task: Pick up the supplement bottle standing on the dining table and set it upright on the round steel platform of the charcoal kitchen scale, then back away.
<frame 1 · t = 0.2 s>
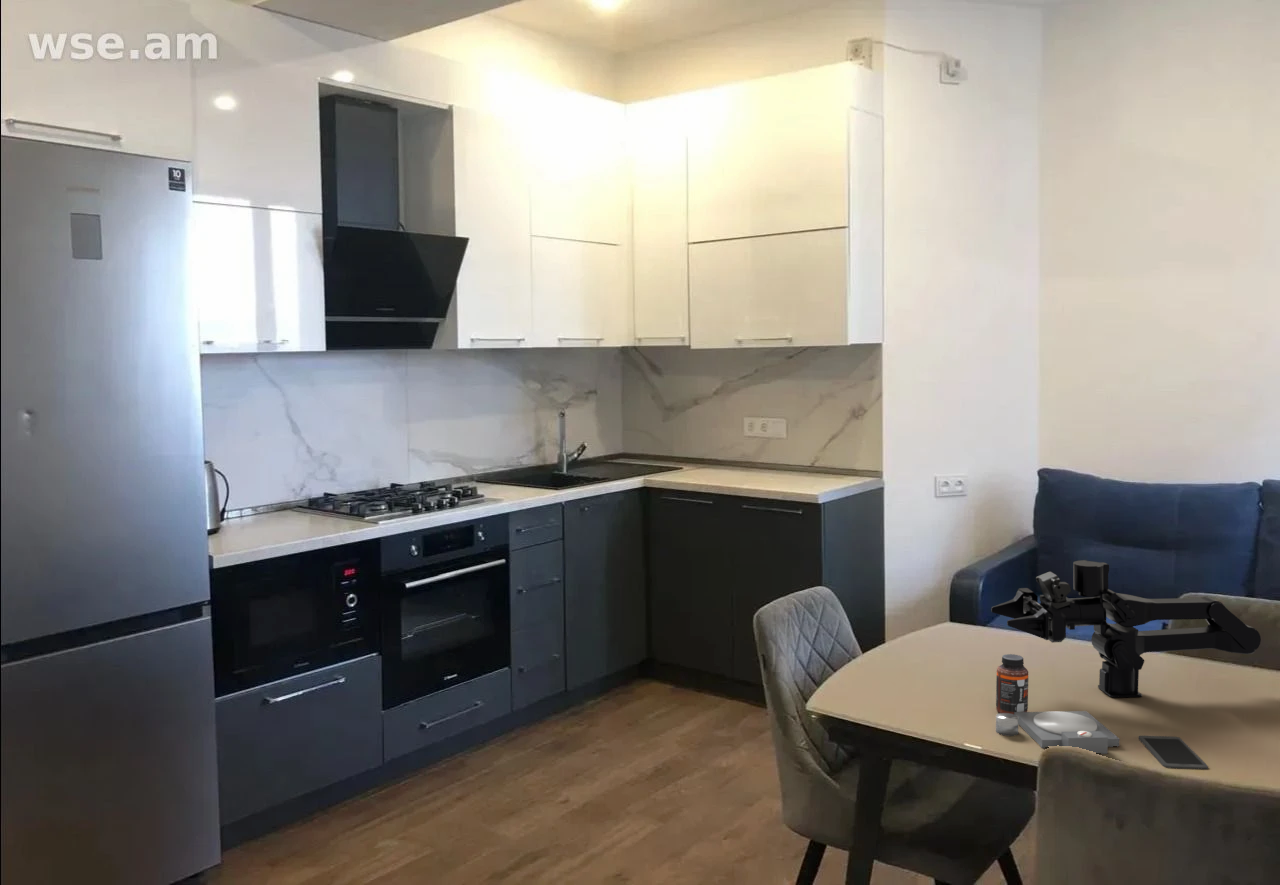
hand: (999, 616, 212), 17 cm above the table, tool horizontal, fingers open, 9 cm apart
shiny metal cylinder: (1006, 732, 194), on the table
cell phone: (1171, 755, 183), on the table
scale: (1064, 732, 193), on the table
supplement bottle: (1011, 713, 204), on the table
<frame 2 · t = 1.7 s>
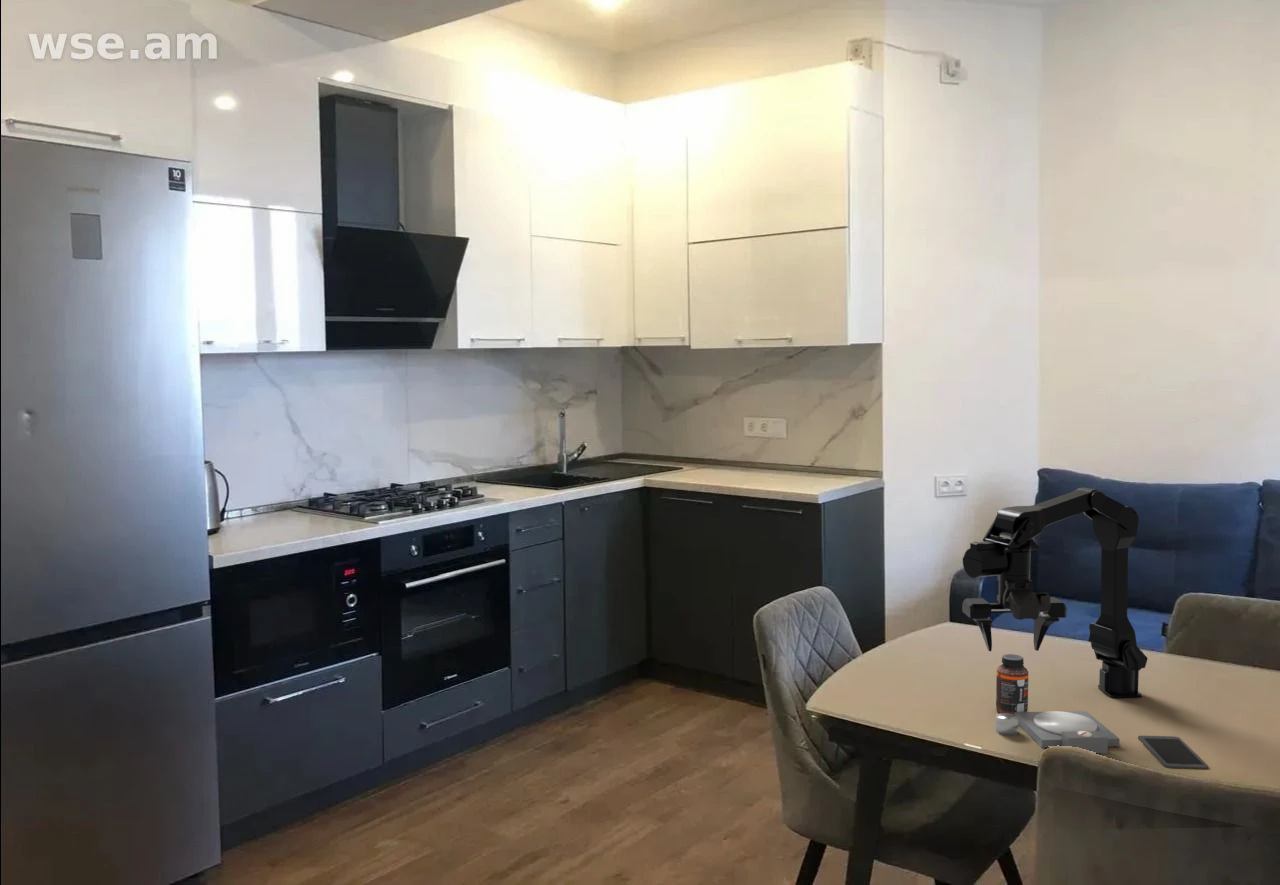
hand: (1012, 650, 203), 13 cm above the table, tool pointing down, fingers open, 9 cm apart
nothing on the table moved.
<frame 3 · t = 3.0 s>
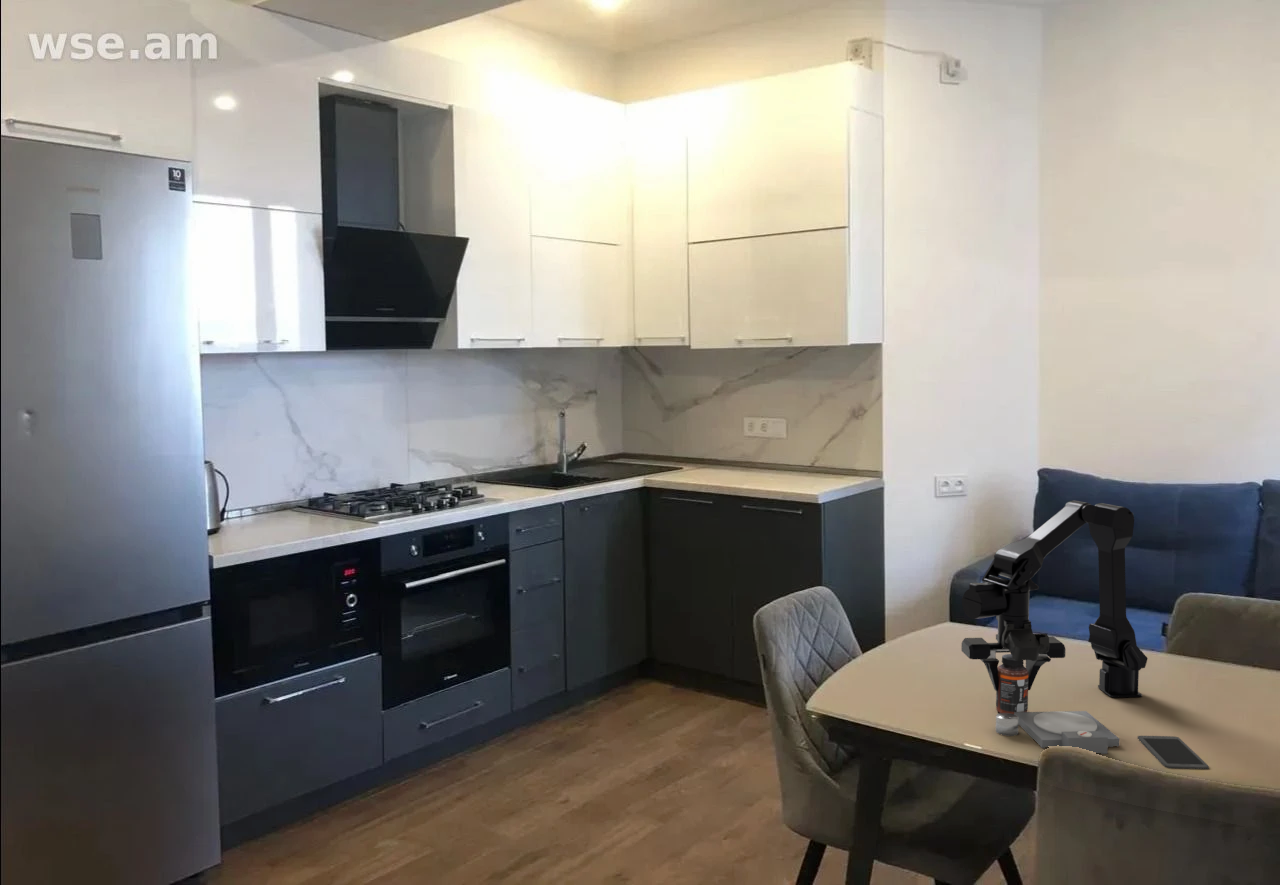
hand: (1012, 689, 203), 5 cm above the table, tool pointing down, fingers closed on supplement bottle, 6 cm apart
supplement bottle: (1011, 713, 204), on the table, touching gripper
everything else where it was.
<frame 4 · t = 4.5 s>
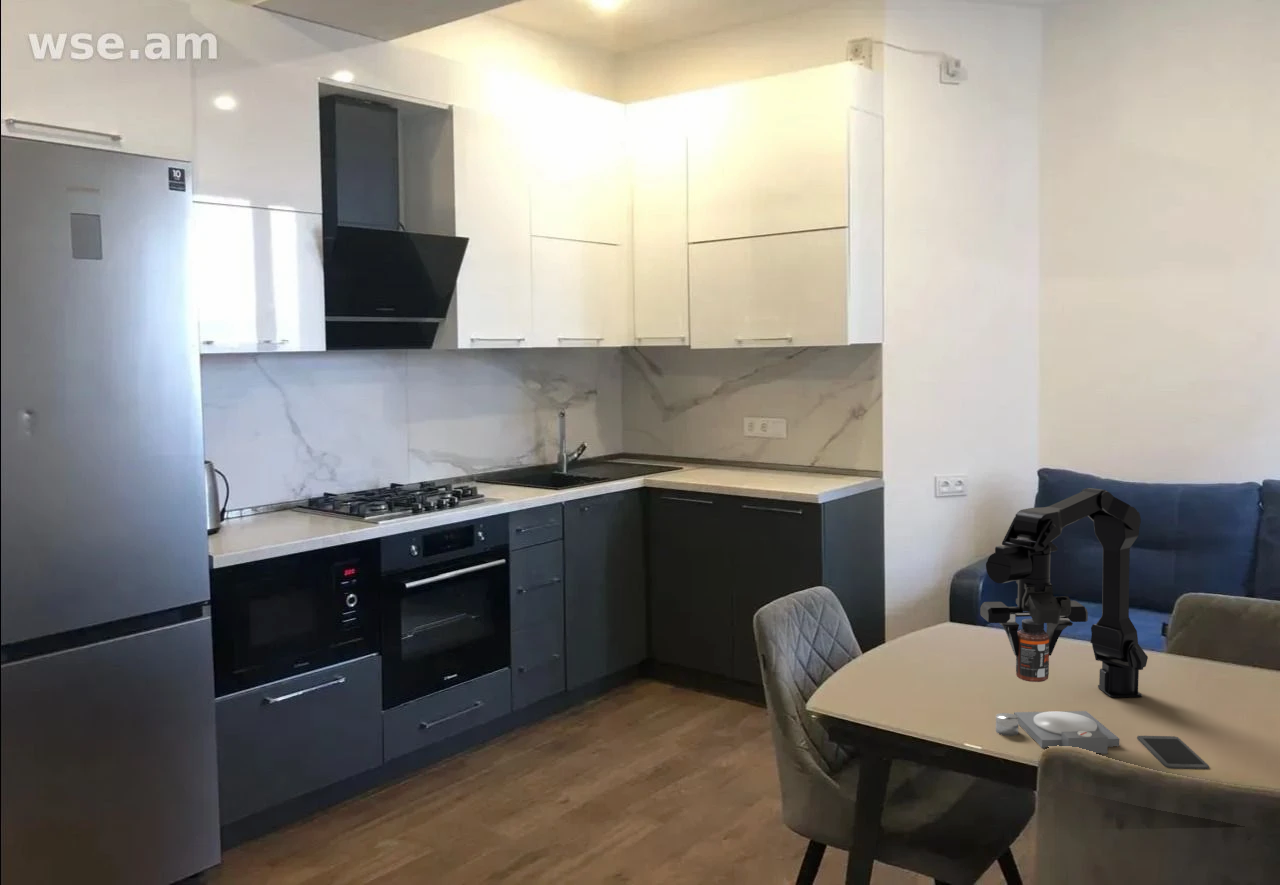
hand: (1032, 655, 198), 13 cm above the table, tool pointing down, fingers closed on supplement bottle, 6 cm apart
supplement bottle: (1032, 679, 199), point 8 cm above the table, touching gripper
everything else where it was.
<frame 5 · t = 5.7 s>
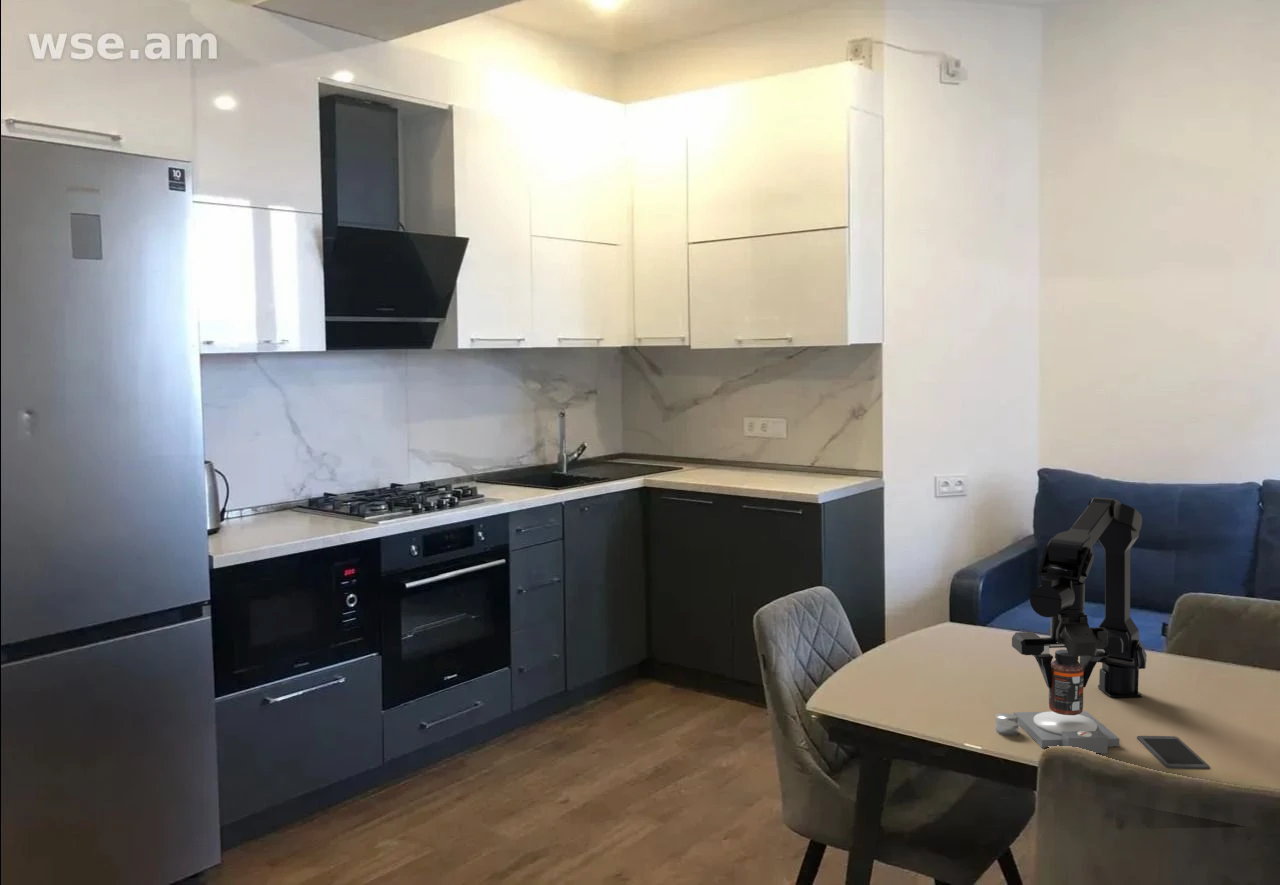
hand: (1066, 687, 192), 9 cm above the table, tool pointing down, fingers closed on supplement bottle, 6 cm apart
supplement bottle: (1065, 711, 193), point 4 cm above the table, touching gripper
everything else where it was.
when the fingers open (8 cm above the table, at t = 6.3 s): supplement bottle drops 1 cm, resting on scale.
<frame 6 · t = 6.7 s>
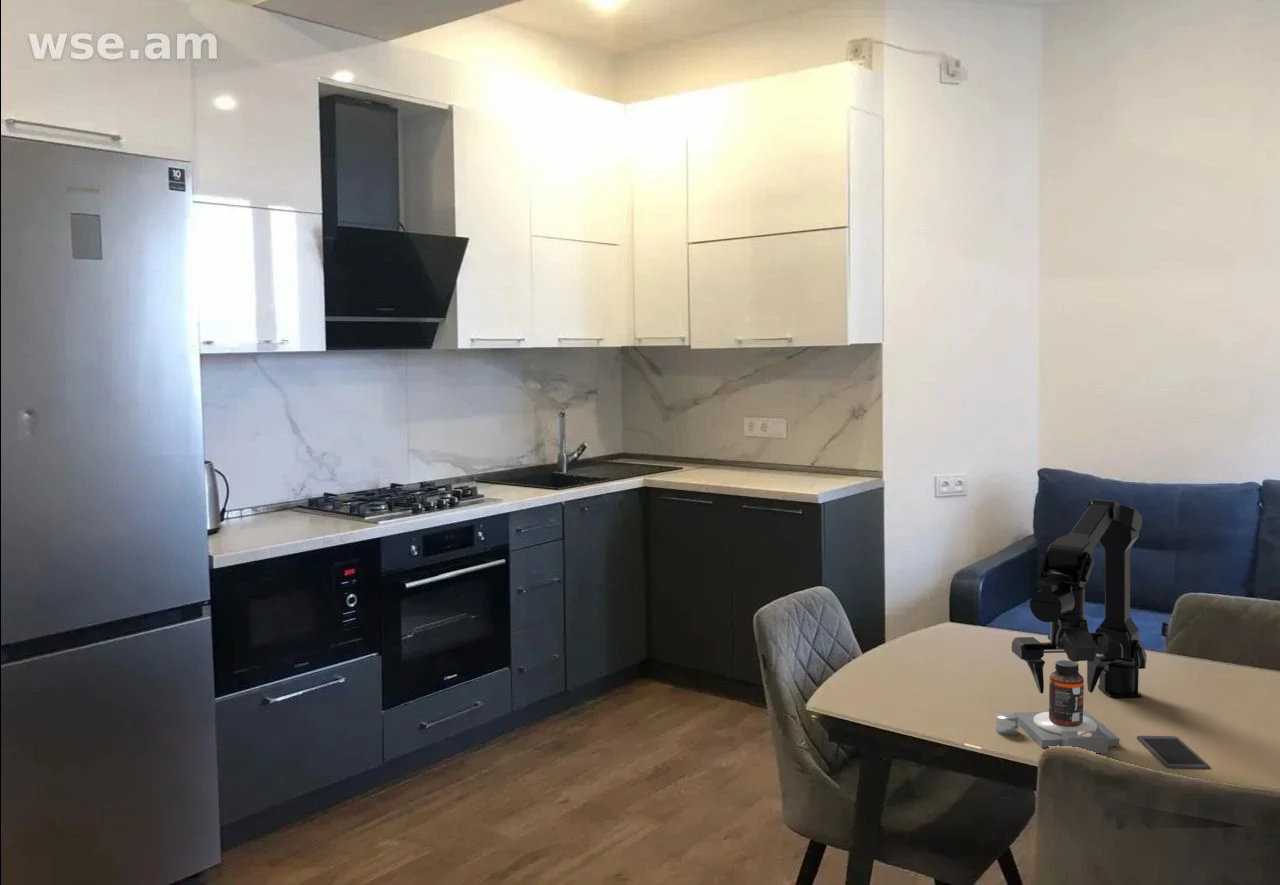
hand: (1065, 692, 192), 8 cm above the table, tool pointing down, fingers open, 9 cm apart
supplement bottle: (1065, 722, 193), point 2 cm above the table, touching scale
everything else where it was.
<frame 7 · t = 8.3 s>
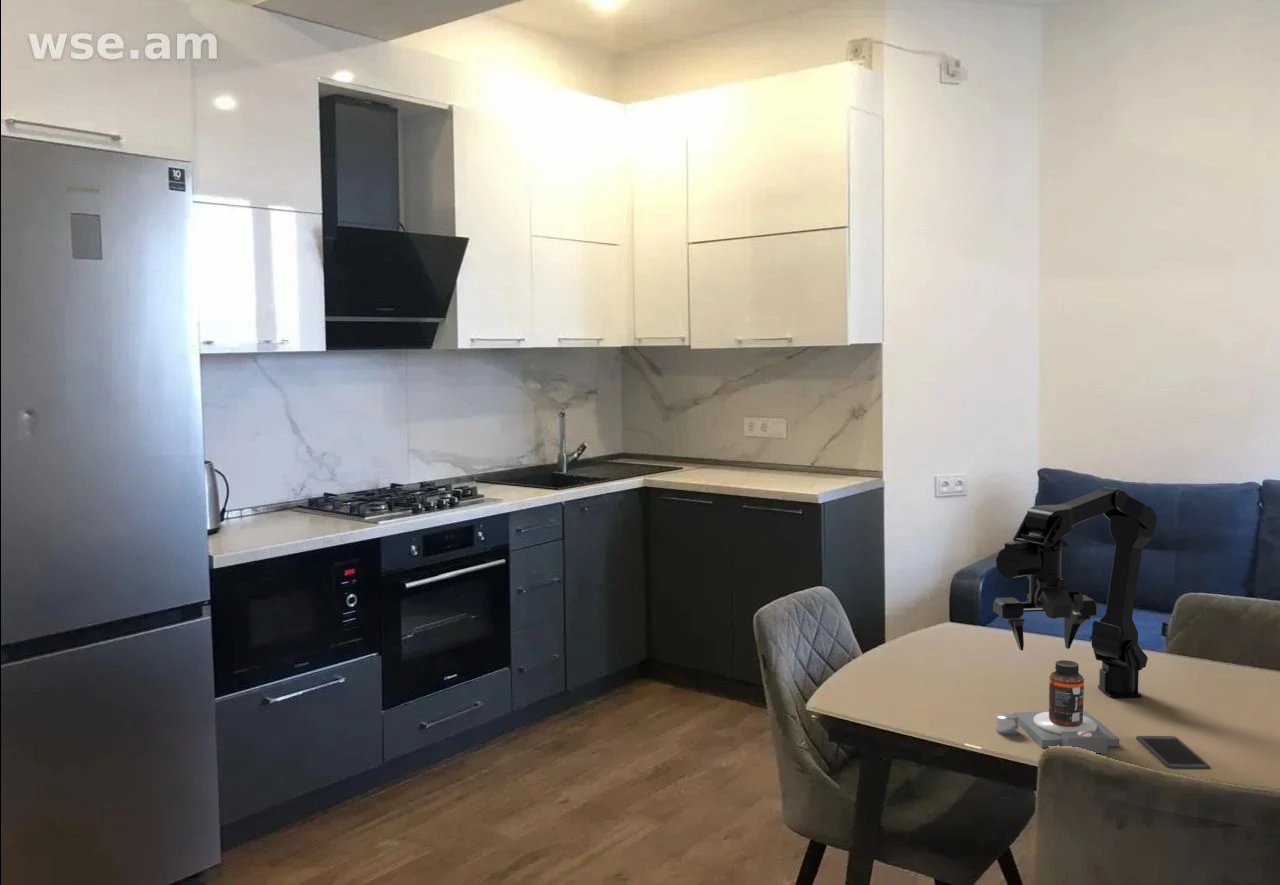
hand: (1044, 649, 202), 13 cm above the table, tool pointing down, fingers open, 9 cm apart
nothing on the table moved.
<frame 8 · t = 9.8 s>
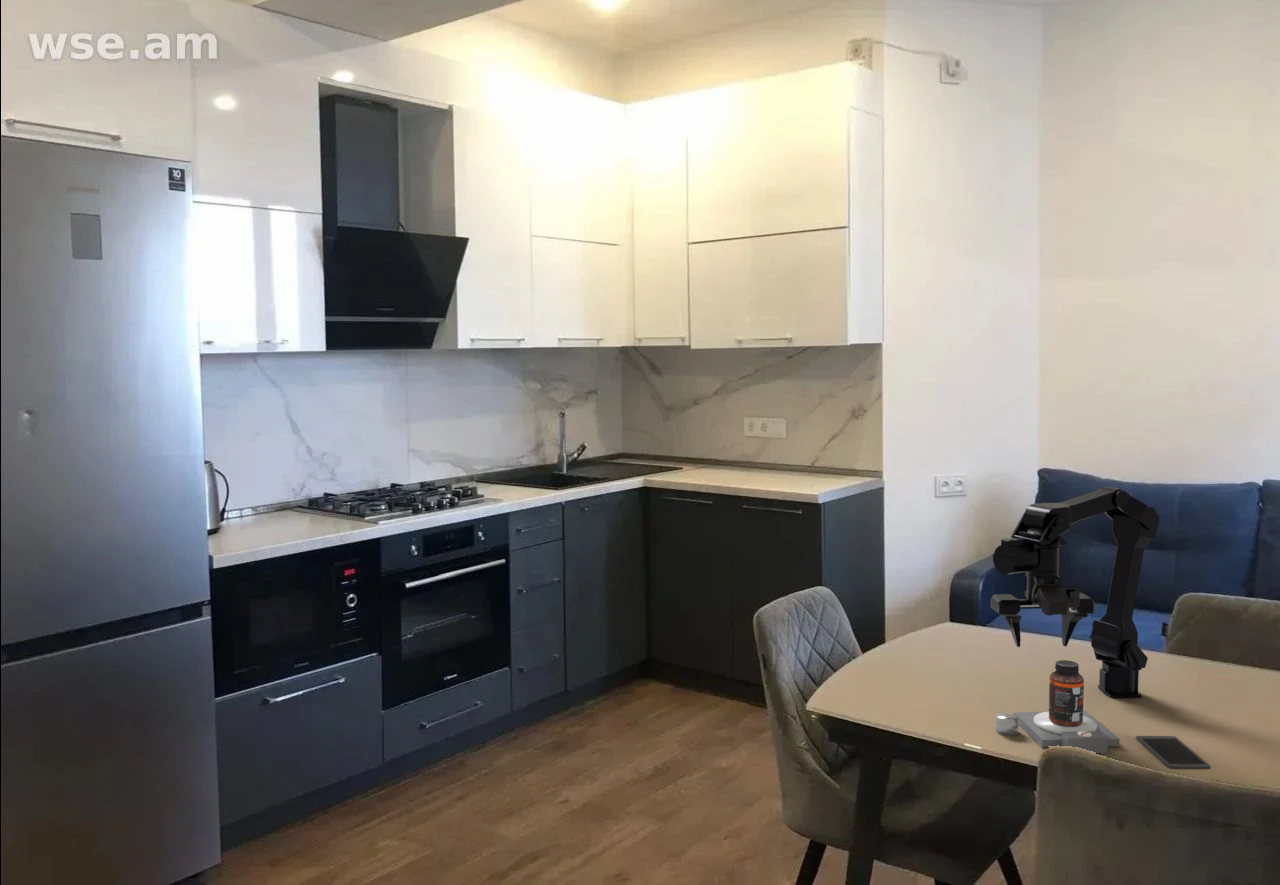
hand: (1041, 646, 204), 13 cm above the table, tool pointing down, fingers open, 9 cm apart
nothing on the table moved.
at the end: supplement bottle 0.2 cm from the scale (horizontally); supplement bottle point 1.9 cm above the table; supplement bottle tilted 0° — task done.
